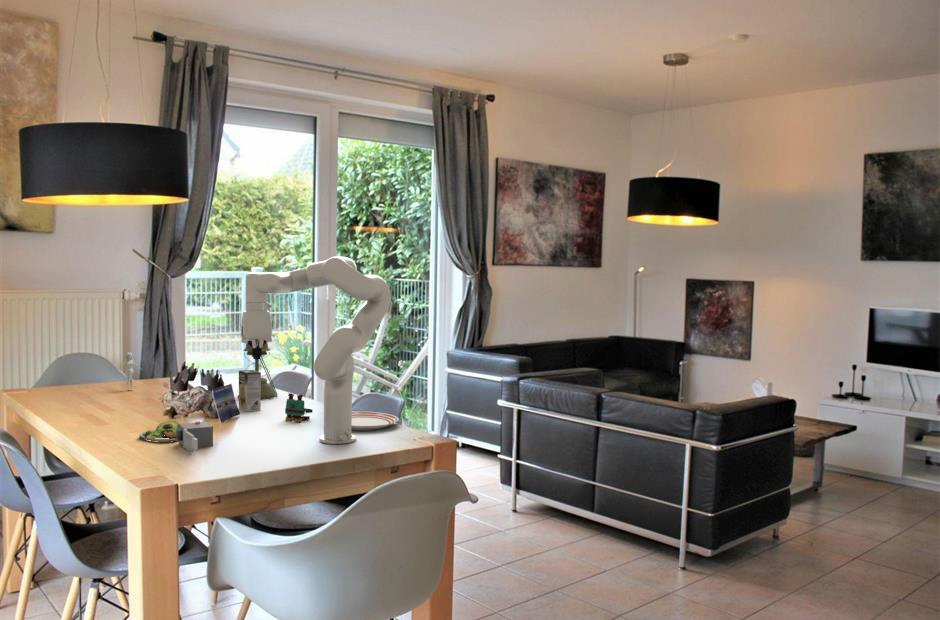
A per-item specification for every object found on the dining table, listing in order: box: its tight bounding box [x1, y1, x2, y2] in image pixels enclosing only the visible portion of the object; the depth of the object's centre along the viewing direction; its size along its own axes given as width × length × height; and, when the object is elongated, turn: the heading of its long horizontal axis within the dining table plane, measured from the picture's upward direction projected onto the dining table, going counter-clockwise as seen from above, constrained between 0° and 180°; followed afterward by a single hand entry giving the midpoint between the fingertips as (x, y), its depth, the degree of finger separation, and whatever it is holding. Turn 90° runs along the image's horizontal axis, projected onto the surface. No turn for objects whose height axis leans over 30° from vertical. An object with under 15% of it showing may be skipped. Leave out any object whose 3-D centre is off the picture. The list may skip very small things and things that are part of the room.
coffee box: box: [238, 369, 262, 412], centre depth 320 cm, size 9×6×16 cm
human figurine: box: [115, 352, 143, 389], centre depth 362 cm, size 12×4×18 cm, turn 134°
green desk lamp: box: [237, 339, 278, 401], centre depth 351 cm, size 21×18×30 cm
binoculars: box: [284, 392, 314, 423], centre depth 301 cm, size 9×11×10 cm
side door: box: [183, 429, 199, 454], centre depth 245 cm, size 1×13×6 cm, turn 35°
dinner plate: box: [352, 411, 400, 431], centre depth 292 cm, size 28×27×3 cm
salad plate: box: [138, 420, 180, 443], centre depth 266 cm, size 19×18×5 cm
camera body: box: [176, 421, 214, 448], centre depth 256 cm, size 9×10×7 cm
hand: (256, 358), depth 272 cm, fingers closed
